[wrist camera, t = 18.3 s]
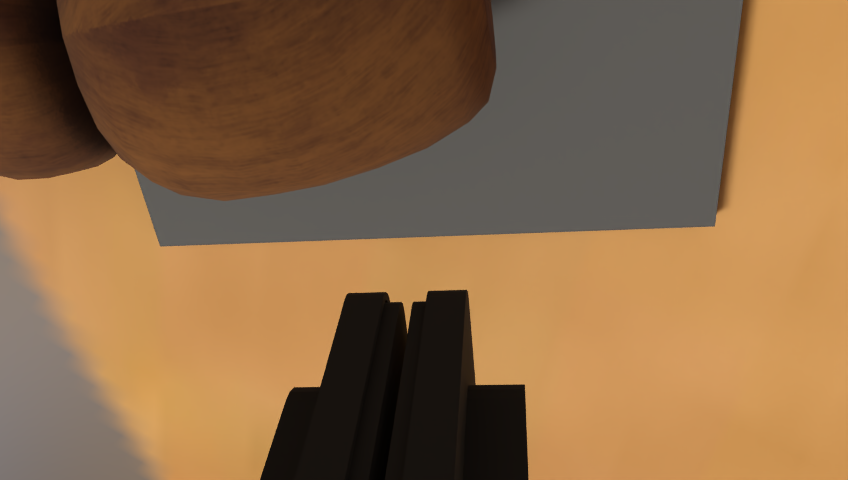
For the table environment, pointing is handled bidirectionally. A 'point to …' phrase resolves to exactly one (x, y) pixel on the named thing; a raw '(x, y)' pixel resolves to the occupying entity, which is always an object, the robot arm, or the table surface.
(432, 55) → the wooden figurine
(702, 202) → the mat
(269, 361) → the table surface
